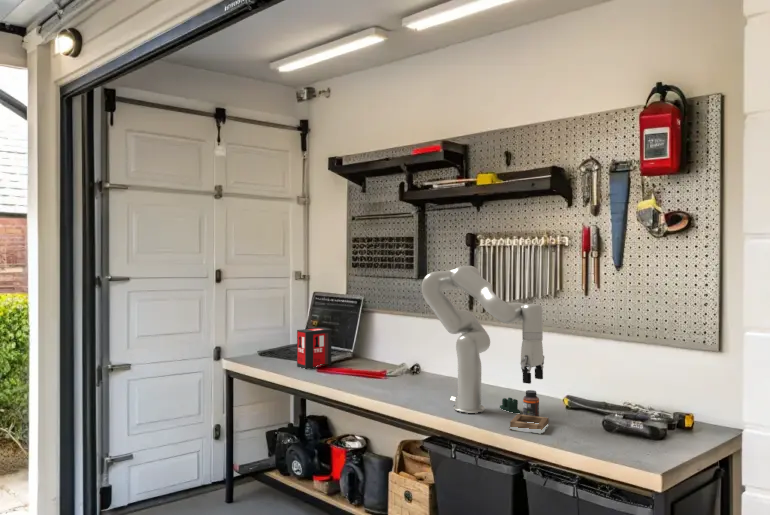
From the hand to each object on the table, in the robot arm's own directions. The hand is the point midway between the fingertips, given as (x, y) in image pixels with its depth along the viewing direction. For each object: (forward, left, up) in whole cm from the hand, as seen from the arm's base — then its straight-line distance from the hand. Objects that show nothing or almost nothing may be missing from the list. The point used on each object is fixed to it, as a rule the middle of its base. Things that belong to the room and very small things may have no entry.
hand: (532, 380), depth 238 cm
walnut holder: (+3, -9, -15) cm, 18 cm away
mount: (-14, +7, -16) cm, 22 cm away
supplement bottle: (-1, 0, -16) cm, 16 cm away
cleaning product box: (-139, +16, -16) cm, 140 cm away
